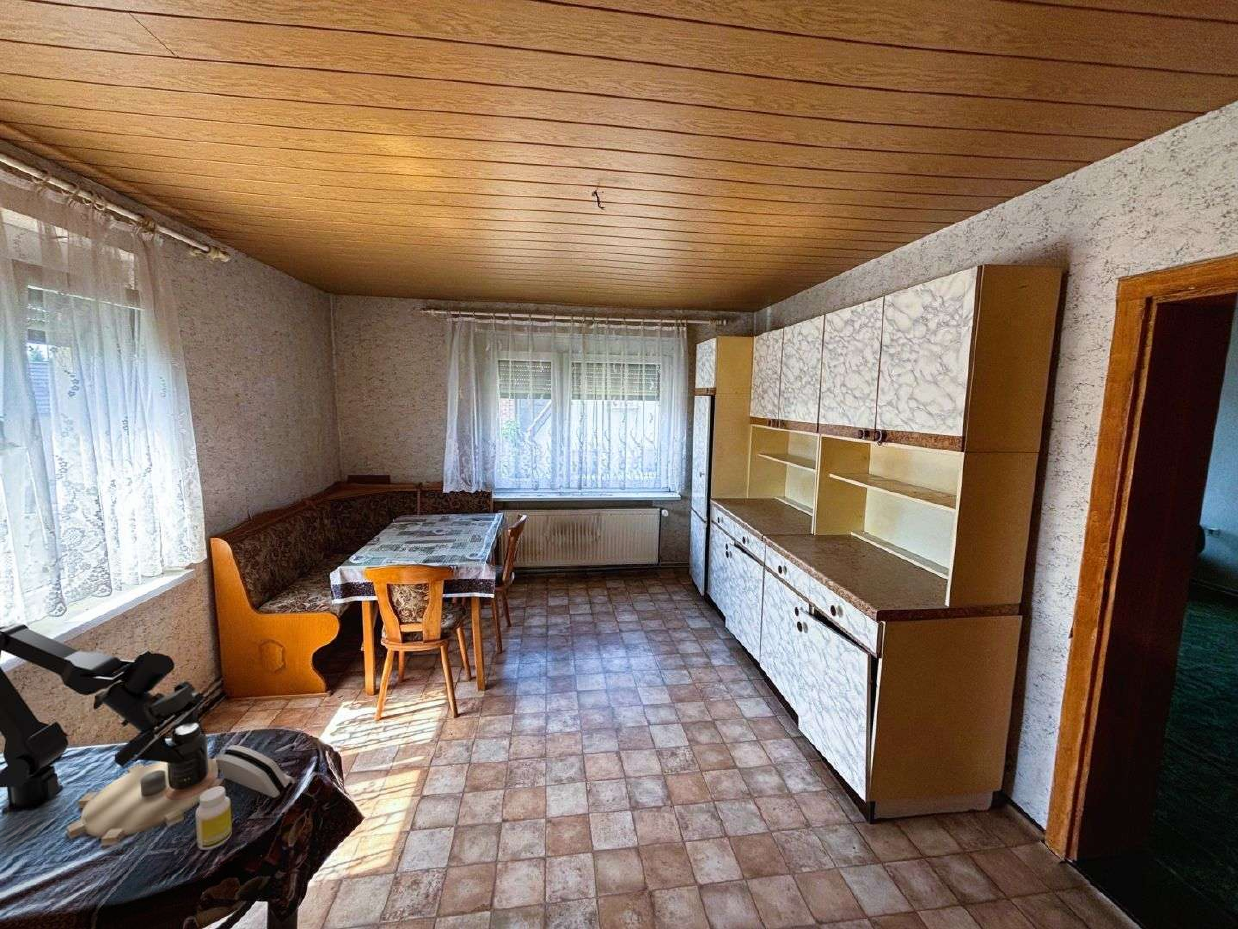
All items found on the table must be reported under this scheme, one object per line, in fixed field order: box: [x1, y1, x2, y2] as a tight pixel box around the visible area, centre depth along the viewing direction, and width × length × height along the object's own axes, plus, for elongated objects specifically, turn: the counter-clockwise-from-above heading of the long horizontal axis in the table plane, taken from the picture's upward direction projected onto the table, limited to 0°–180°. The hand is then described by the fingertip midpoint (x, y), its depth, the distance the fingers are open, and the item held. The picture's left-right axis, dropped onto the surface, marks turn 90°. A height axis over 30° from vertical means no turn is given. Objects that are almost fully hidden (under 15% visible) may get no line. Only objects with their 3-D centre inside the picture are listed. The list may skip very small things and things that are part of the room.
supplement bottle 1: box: [167, 722, 209, 790], centre depth 113 cm, size 7×7×12 cm
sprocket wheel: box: [66, 756, 226, 847], centre depth 113 cm, size 26×26×4 cm
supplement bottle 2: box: [195, 786, 233, 851], centre depth 101 cm, size 5×5×10 cm
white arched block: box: [216, 744, 296, 799], centre depth 116 cm, size 17×5×10 cm, turn 69°
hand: (194, 751), depth 113 cm, fingers closed on supplement bottle 1, 7 cm apart
